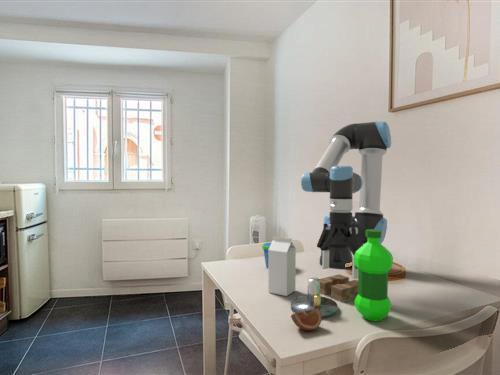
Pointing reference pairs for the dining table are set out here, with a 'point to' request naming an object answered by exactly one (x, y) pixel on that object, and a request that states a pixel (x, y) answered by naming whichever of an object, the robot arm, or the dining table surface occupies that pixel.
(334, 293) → the flange block
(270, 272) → the milk carton
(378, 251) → the plastic bottle
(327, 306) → the post base
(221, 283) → the dining table surface
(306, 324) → the fruit slice
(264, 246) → the snack cup
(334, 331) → the dining table surface
